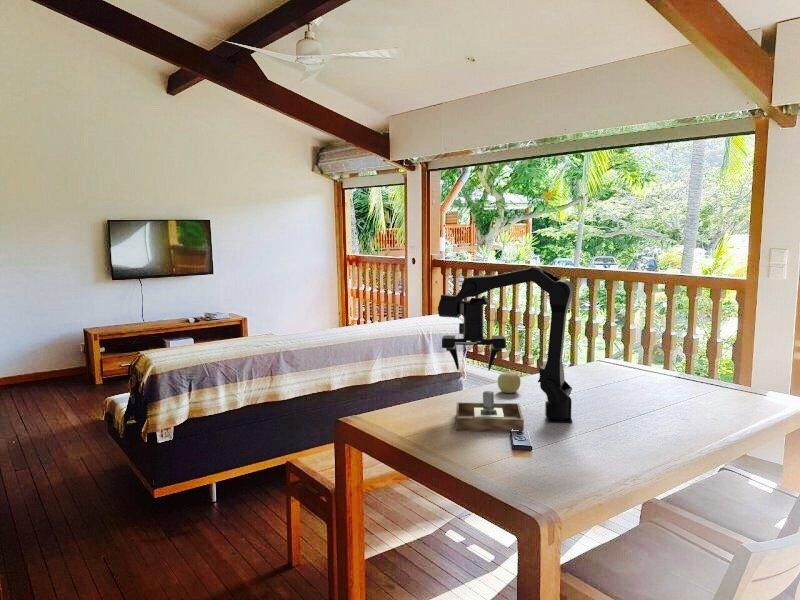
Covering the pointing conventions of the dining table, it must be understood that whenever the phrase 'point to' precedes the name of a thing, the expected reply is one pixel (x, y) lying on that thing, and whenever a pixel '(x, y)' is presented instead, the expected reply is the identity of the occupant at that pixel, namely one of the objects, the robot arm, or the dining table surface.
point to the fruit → (508, 382)
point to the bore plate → (479, 414)
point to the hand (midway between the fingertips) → (473, 370)
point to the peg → (488, 403)
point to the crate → (506, 424)
